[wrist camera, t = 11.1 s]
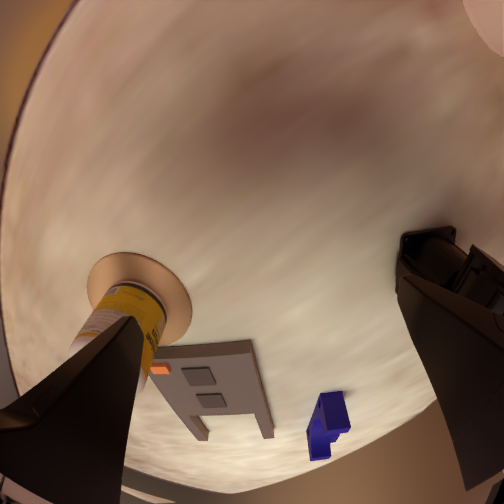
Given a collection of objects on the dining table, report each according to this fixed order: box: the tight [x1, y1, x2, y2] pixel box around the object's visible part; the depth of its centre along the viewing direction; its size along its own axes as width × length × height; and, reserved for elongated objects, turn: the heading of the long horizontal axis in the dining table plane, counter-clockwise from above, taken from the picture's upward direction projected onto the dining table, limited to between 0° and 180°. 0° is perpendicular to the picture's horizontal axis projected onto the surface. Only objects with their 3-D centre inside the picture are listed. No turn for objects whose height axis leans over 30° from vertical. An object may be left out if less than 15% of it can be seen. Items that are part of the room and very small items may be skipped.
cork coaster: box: [87, 253, 192, 346], centre depth 24 cm, size 11×11×1 cm
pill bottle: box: [69, 281, 167, 397], centre depth 19 cm, size 6×6×12 cm
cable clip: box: [306, 391, 351, 461], centre depth 32 cm, size 12×4×6 cm, turn 0°
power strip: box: [148, 340, 274, 441], centre depth 31 cm, size 12×21×2 cm, turn 10°
